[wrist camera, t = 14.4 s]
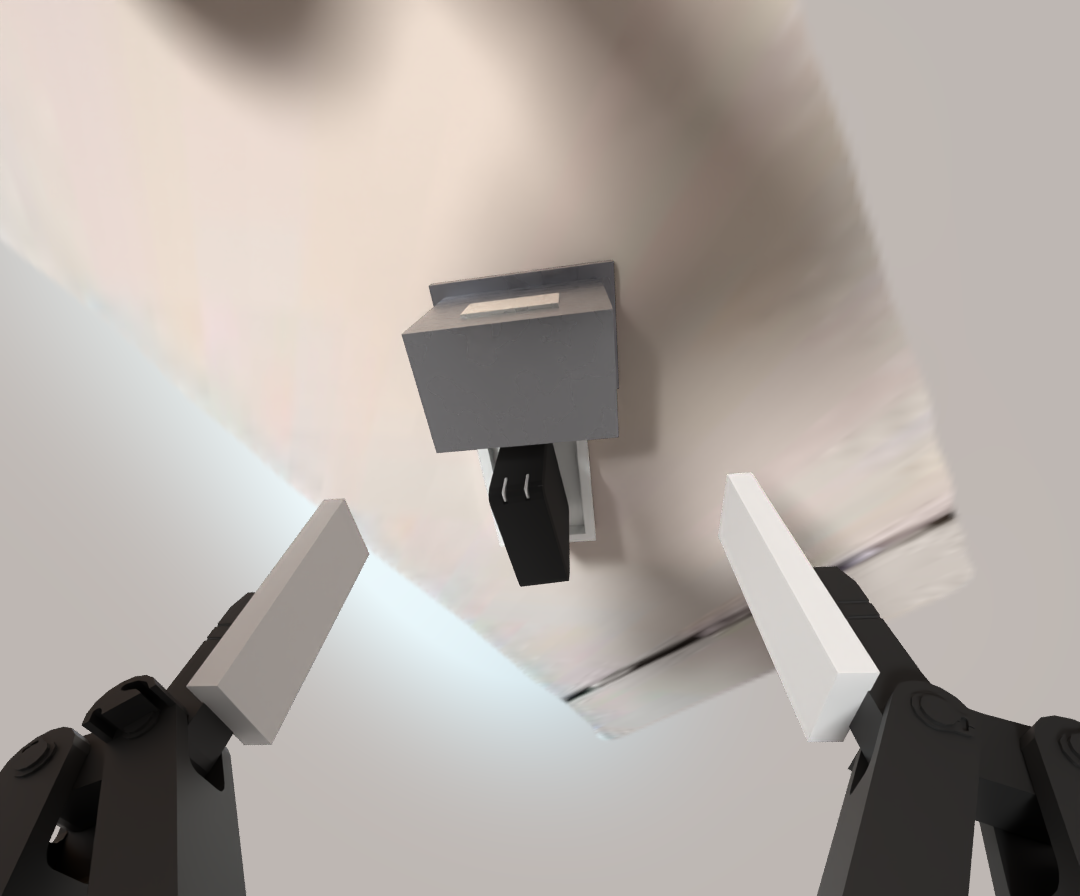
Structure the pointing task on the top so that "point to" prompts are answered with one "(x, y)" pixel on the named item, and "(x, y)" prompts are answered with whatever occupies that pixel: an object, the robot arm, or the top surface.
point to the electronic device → (532, 512)
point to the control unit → (519, 358)
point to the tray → (574, 480)
